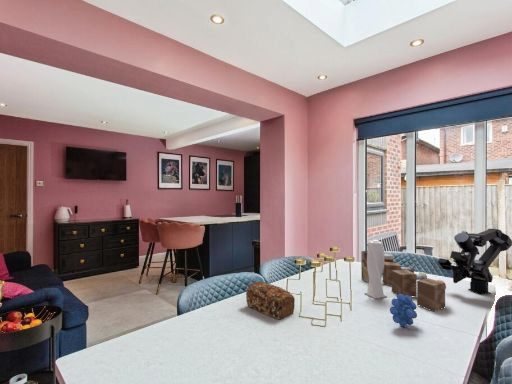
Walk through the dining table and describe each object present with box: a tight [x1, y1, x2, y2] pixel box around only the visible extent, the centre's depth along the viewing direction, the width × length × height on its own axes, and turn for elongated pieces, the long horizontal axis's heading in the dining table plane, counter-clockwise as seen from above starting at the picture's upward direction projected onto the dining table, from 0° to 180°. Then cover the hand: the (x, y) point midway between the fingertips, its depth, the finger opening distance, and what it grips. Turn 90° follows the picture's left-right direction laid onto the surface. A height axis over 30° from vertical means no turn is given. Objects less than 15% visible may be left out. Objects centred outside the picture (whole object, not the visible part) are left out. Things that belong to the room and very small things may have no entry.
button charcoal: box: [401, 265, 415, 273], centre depth 146 cm, size 8×5×5 cm, turn 71°
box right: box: [416, 277, 446, 312], centre depth 118 cm, size 8×7×10 cm
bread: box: [245, 281, 296, 320], centre depth 114 cm, size 19×11×10 cm, turn 44°
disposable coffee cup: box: [382, 252, 395, 276], centre depth 165 cm, size 10×10×12 cm
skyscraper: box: [364, 237, 388, 300], centre depth 129 cm, size 8×8×28 cm
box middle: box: [391, 270, 418, 298], centre depth 132 cm, size 8×7×10 cm
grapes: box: [389, 294, 418, 328], centre depth 98 cm, size 12×7×12 cm, turn 107°
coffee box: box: [360, 250, 370, 284], centre depth 151 cm, size 9×6×16 cm
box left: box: [382, 261, 402, 286], centre depth 148 cm, size 8×7×10 cm
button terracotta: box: [435, 279, 447, 290], centre depth 119 cm, size 8×5×5 cm, turn 117°
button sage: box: [417, 271, 428, 281], centre depth 132 cm, size 8×5×5 cm, turn 95°
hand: (454, 282), depth 125 cm, fingers closed
